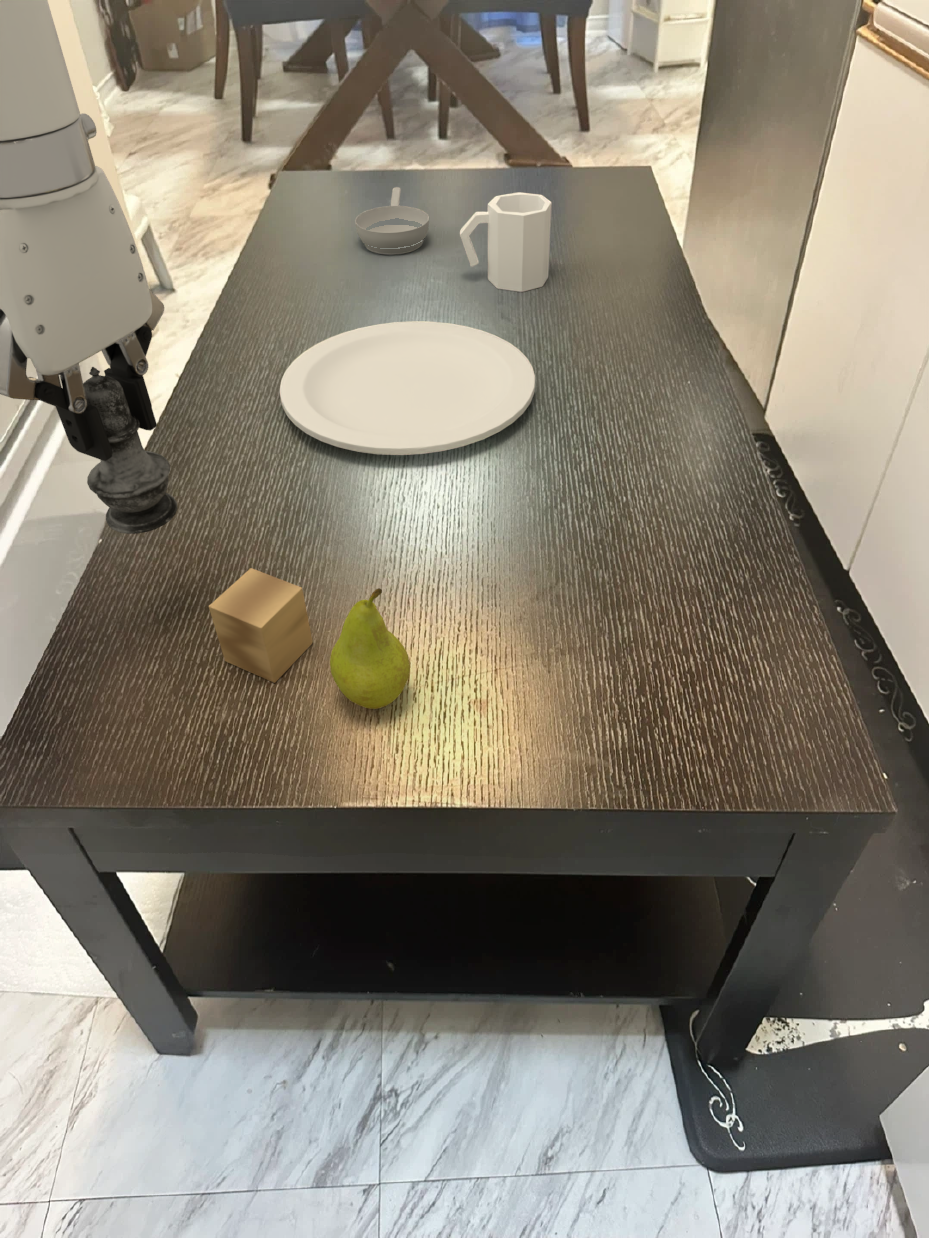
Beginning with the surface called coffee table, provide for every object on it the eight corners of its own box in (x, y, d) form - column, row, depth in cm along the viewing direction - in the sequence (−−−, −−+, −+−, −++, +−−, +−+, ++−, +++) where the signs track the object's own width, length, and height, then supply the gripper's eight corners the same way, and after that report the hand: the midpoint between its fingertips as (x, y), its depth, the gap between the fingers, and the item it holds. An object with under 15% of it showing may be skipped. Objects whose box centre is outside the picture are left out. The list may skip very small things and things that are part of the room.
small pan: (354, 258, 128) (351, 231, 125) (364, 213, 141) (362, 187, 138) (429, 257, 127) (427, 229, 125) (432, 212, 140) (431, 186, 138)
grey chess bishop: (134, 546, 64) (81, 398, 56) (85, 517, 67) (28, 372, 58) (197, 506, 67) (156, 361, 59) (148, 480, 70) (102, 338, 62)
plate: (417, 318, 113) (416, 300, 112) (586, 395, 99) (588, 376, 97) (233, 399, 99) (228, 380, 98) (397, 503, 85) (395, 482, 83)
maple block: (224, 661, 70) (208, 606, 66) (264, 622, 73) (250, 567, 69) (274, 683, 68) (260, 628, 64) (313, 642, 71) (302, 587, 67)
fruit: (343, 666, 69) (323, 547, 61) (417, 671, 69) (407, 551, 61) (328, 723, 65) (304, 604, 57) (406, 728, 65) (394, 609, 56)
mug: (545, 265, 124) (548, 191, 118) (551, 291, 118) (554, 215, 111) (460, 267, 124) (458, 194, 118) (461, 293, 118) (459, 217, 111)
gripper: (84, 114, 57) (159, 376, 69) (-155, 195, 46) (-16, 485, 59) (173, 128, 54) (234, 398, 67) (-60, 218, 43) (64, 517, 56)
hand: (116, 437), depth 63 cm, fingers closed on grey chess bishop, 3 cm apart
